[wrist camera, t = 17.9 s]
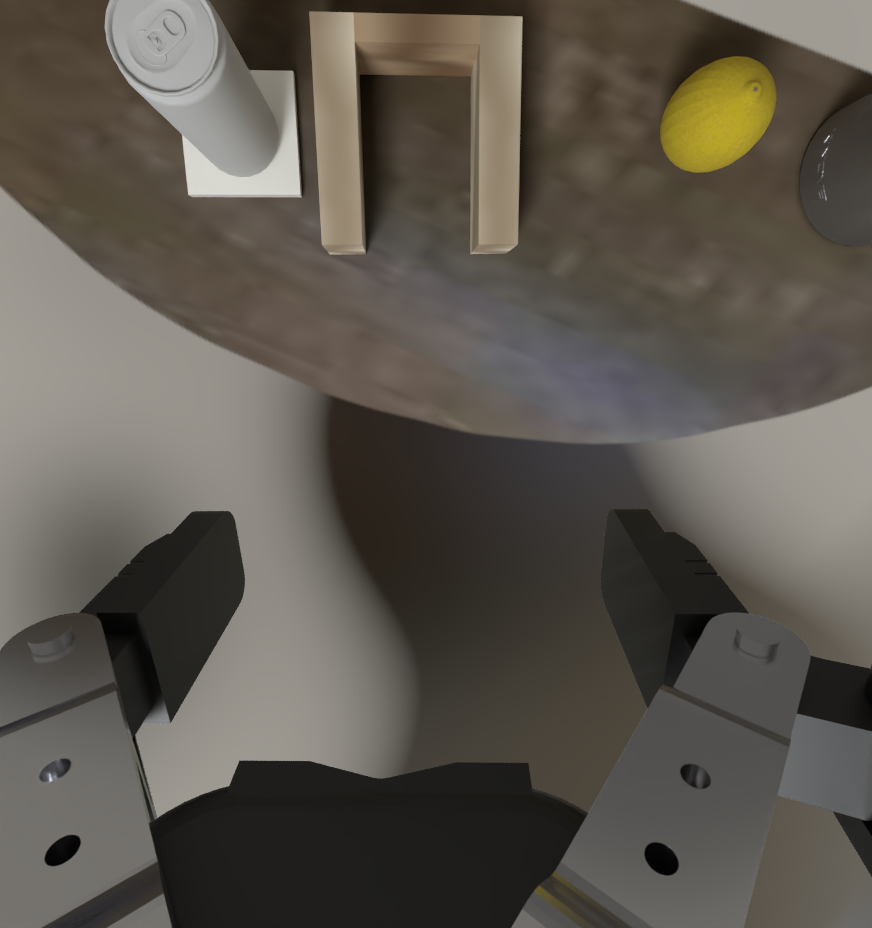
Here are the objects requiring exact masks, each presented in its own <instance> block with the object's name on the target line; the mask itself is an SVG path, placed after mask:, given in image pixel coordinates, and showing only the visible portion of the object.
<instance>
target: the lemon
mask: <svg viewBox="0 0 872 928" xmlns="http://www.w3.org/2000/svg"><path fill="white" fill-rule="evenodd" d="M775 104H776V87H775V83H774V80H773V77H772V75H771V74H770V72H769V71H768V69H767V68H766V67H765V66H764V65H762V64H761V63H760V62H758V61H756V60H754V59H751V58H749V57H741V56H734V57H728V58H723V59H719V60H716V61H714V62H712V63H710V64H708V65H706V66H704V67H702V68H700V69H698V70H697V71H696V72H694V73H693V74H692V75H691V76H690V77H689V78H687V79H686V80H685V81H684V82H683V83H682V84H681V85H680V86H679V87H678V89H677V90H676V92H675V93H674V94H673V96H672V97H671V99H670V100H669V102H668V104H667V106H666V109H665V111H664V113H663V117H662V122H661V127H660V138H661V143H662V147H663V150H664V152H665V154H666V155H667V157H668V159H669V160H670V161H671V162H672V163H673V164H674V165H676V166H677V167H679V168H681V169H682V170H686V171H690V172H696V173H697V172H710V171H713V170H716V169H719V168H722V167H725V166H727V165H729V164H731V163H732V162H734V161H735V160H737V159H739V158H740V157H742V156H743V155H744V154H746V153H747V152H748V151H749V150H750V149H751V148H752V147H753V145H754V144H755V143H756V142H757V141H758V140H759V139H760V138H761V137H762V135H763V134H764V132H765V130H766V129H767V127H768V125H769V124H770V122H771V119H772V116H773V113H774V110H775Z"/></svg>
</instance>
